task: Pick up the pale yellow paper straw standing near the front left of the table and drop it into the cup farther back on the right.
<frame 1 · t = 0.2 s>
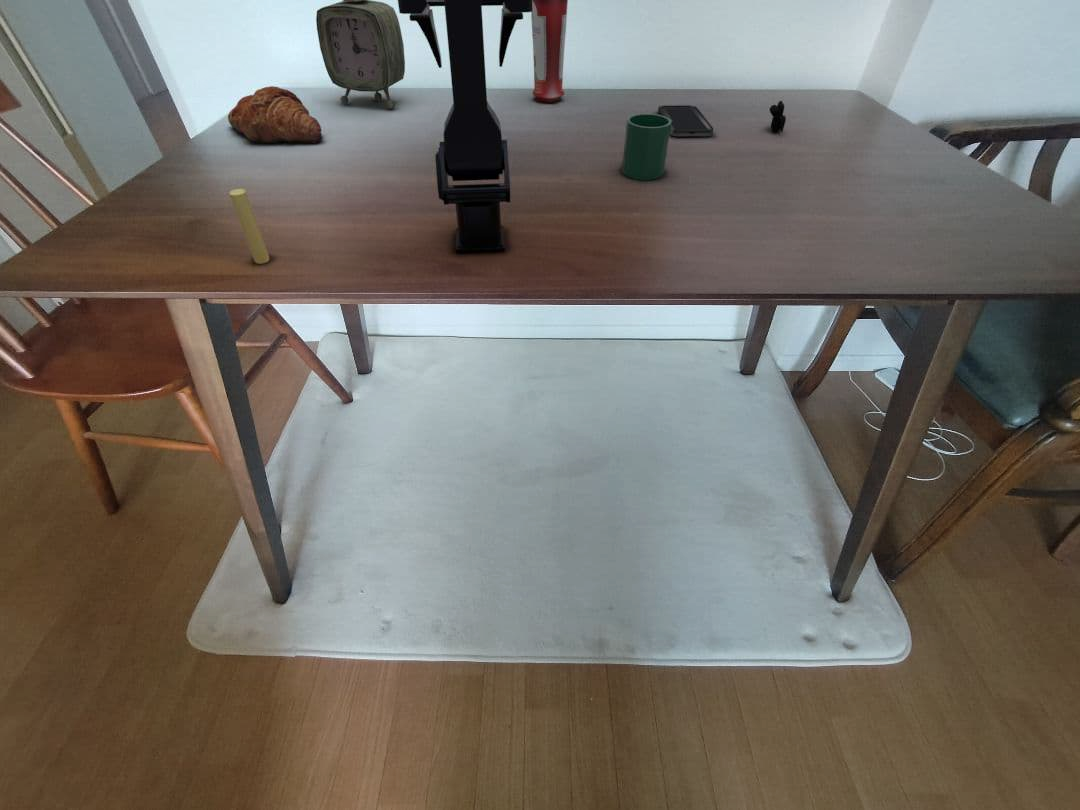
hand: (470, 66, 88), 15 cm above the table, tool pointing down, fingers open, 9 cm apart
pastry: (276, 135, 108), on the table
liquor: (548, 100, 125), on the table
cup: (642, 171, 95), on the table
wireless earbuds: (771, 131, 110), on the table
straw: (262, 260, 74), on the table
phone: (683, 124, 113), on the table
tabletop clock: (374, 104, 122), on the table
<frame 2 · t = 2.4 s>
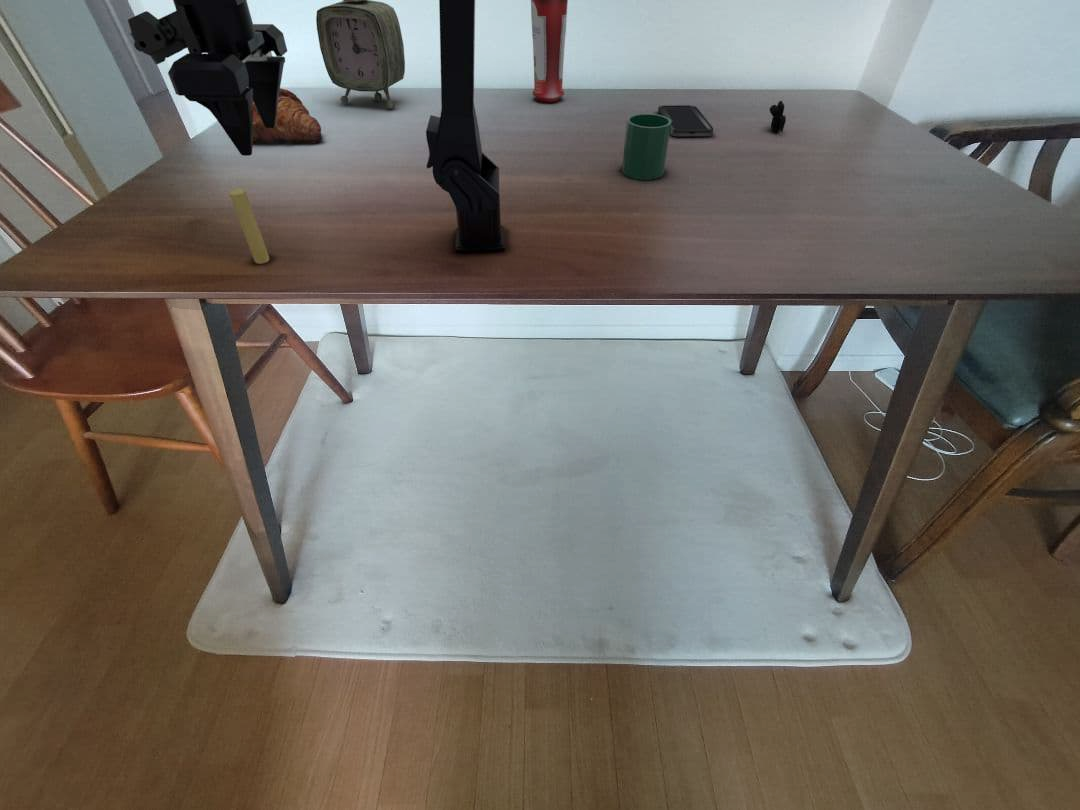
hand: (259, 140, 68), 13 cm above the table, tool pointing down, fingers open, 9 cm apart
nothing on the table moved.
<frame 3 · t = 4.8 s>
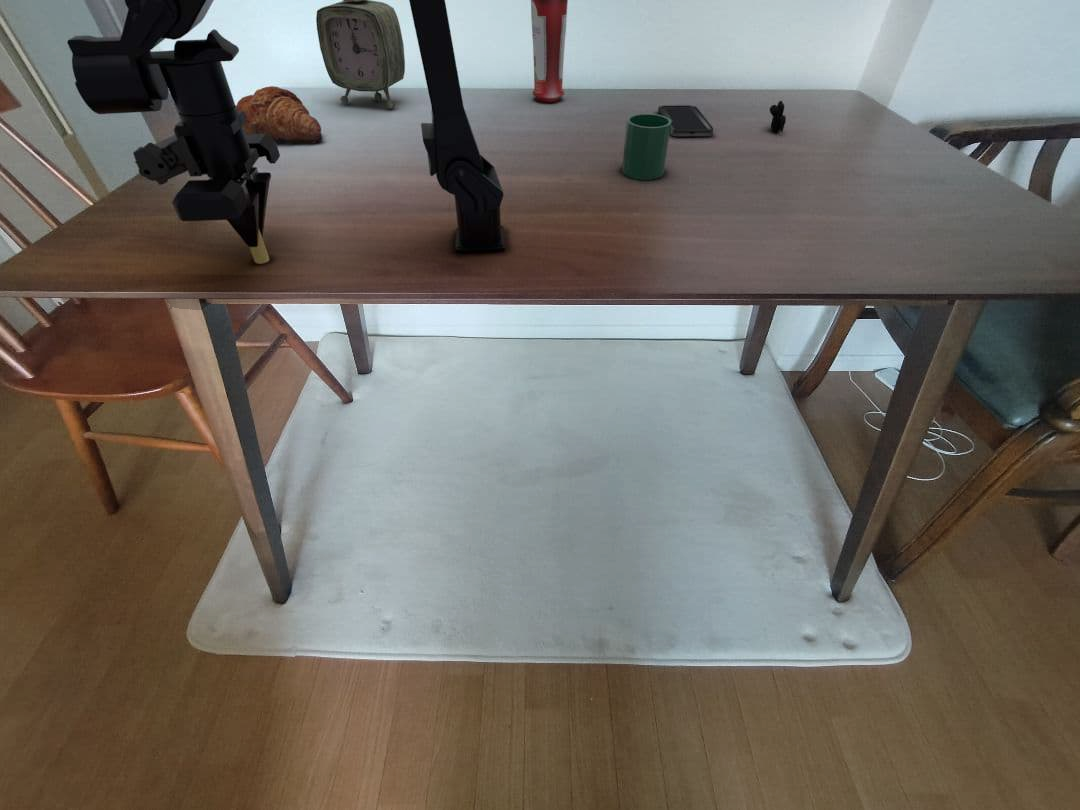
hand: (255, 242, 72), 3 cm above the table, tool pointing down, fingers closed on straw, 2 cm apart
straw: (262, 260, 74), on the table, touching gripper
everything else where it was.
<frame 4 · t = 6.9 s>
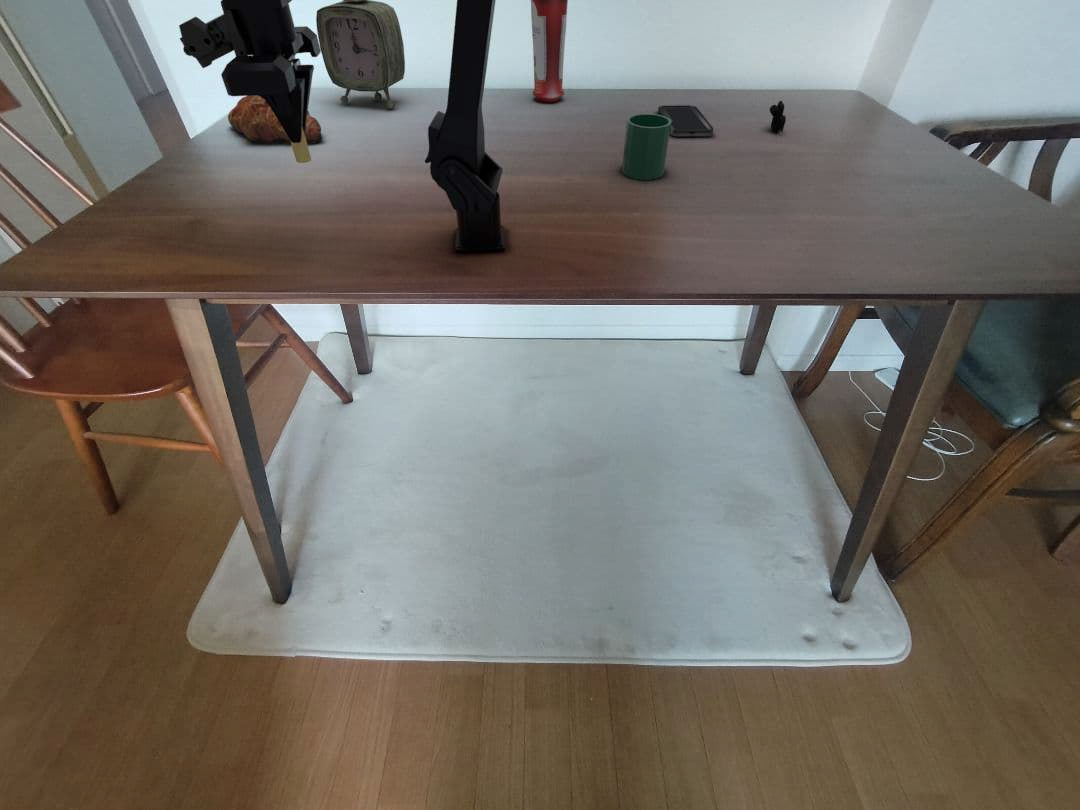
hand: (298, 139, 70), 13 cm above the table, tool pointing down, fingers closed on straw
straw: (303, 160, 72), point 10 cm above the table, touching gripper
everything else where it was.
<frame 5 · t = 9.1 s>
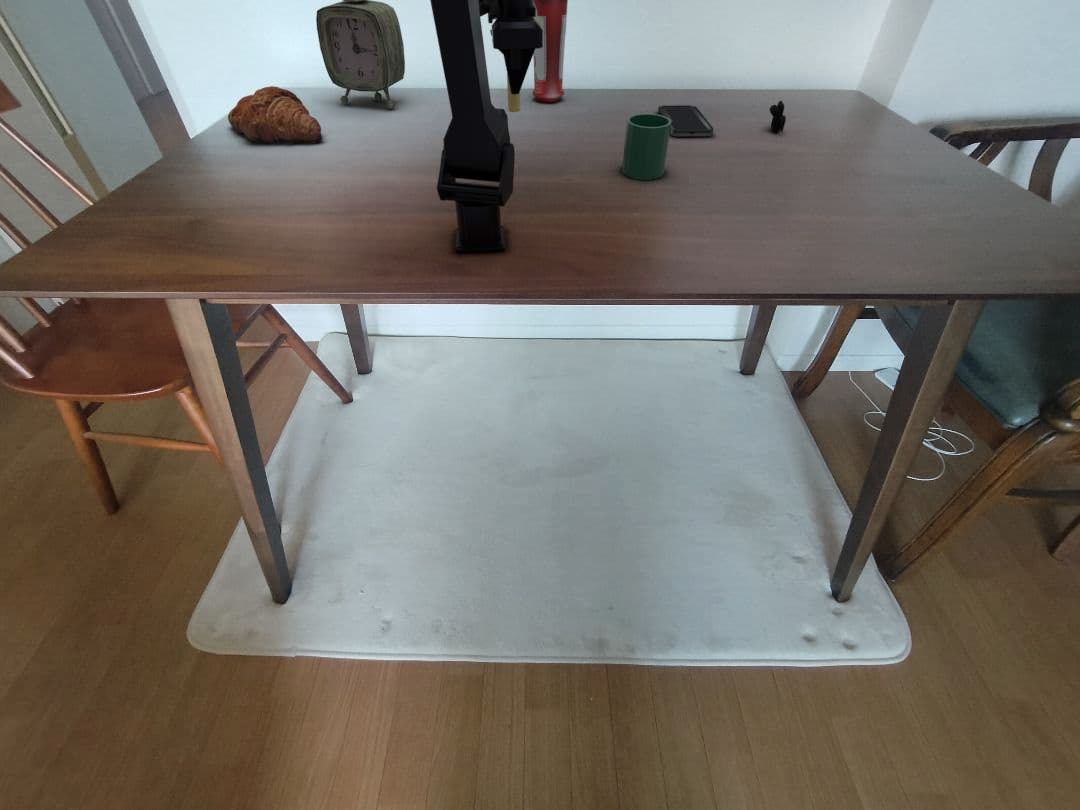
hand: (514, 91, 83), 13 cm above the table, tool pointing down, fingers closed on straw
straw: (514, 110, 85), point 11 cm above the table, touching gripper
everything else where it was.
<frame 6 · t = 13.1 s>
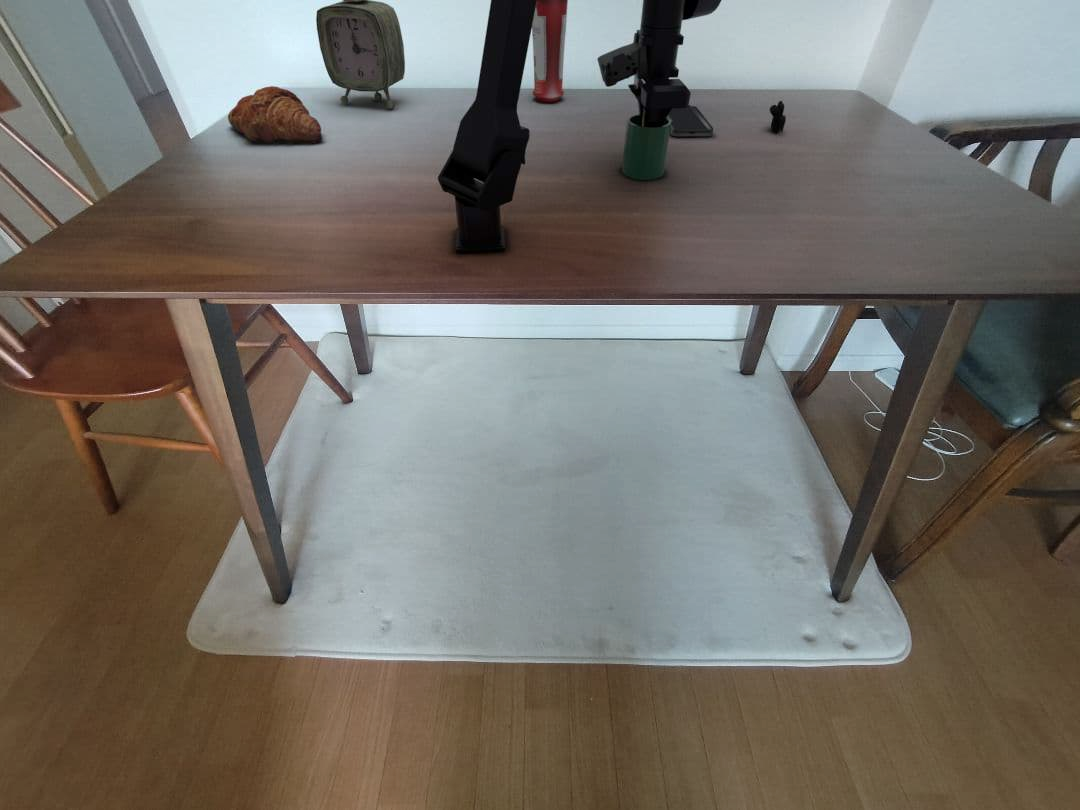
hand: (646, 140, 92), 5 cm above the table, tool pointing down, fingers closed, pressing on cup, straw
straw: (643, 156, 94), point 3 cm above the table, touching gripper
everything else where it was.
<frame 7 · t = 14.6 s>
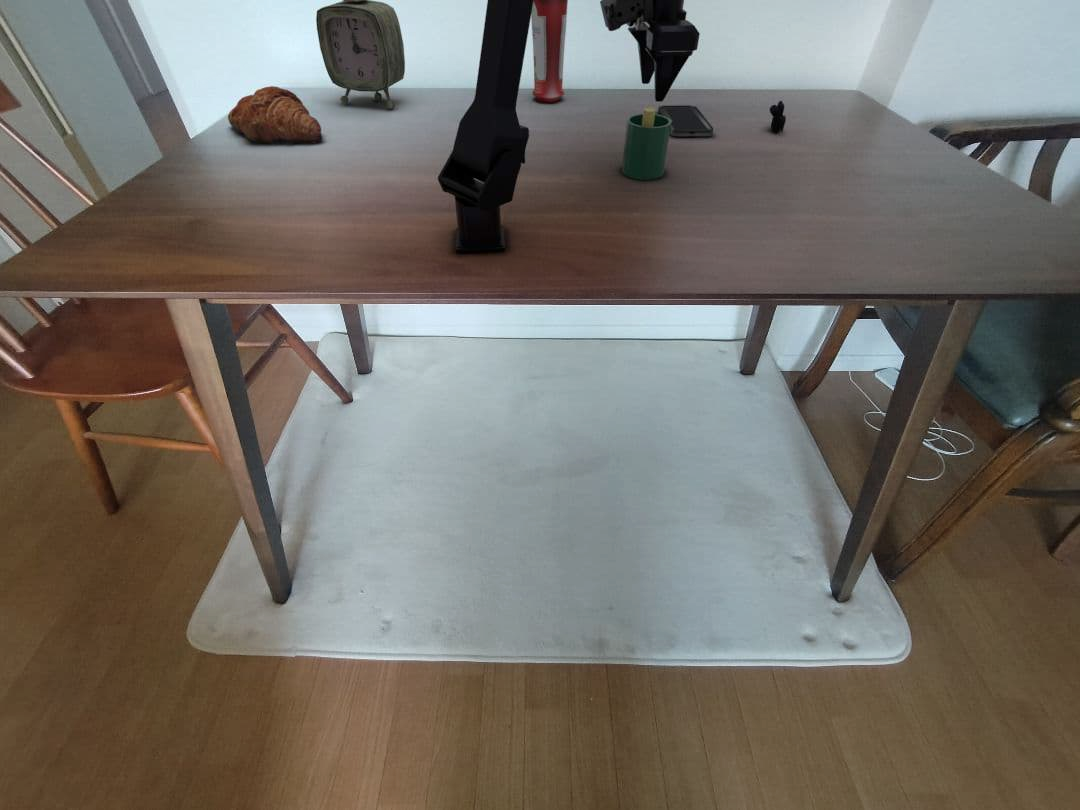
hand: (651, 92, 87), 12 cm above the table, tool pointing down, fingers open, 9 cm apart
straw: (642, 168, 95), point 1 cm above the table, touching cup
everything else where it was.
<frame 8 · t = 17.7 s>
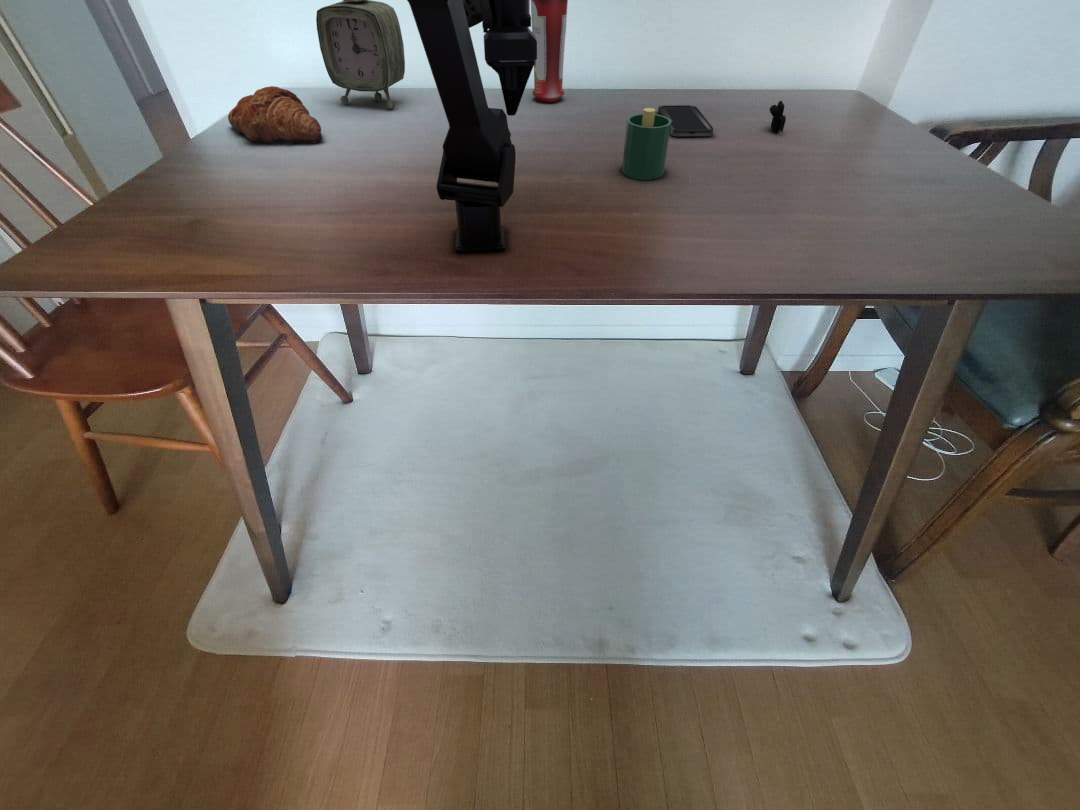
hand: (509, 104, 79), 13 cm above the table, tool pointing down, fingers open, 9 cm apart
nothing on the table moved.
at the end: straw 0.2 cm off-centre in the cup, point 0.6 cm above the cup's base; the gripper is holding nothing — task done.
